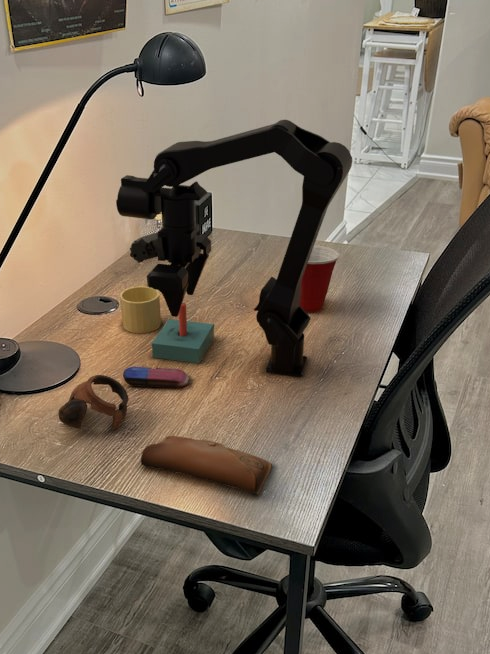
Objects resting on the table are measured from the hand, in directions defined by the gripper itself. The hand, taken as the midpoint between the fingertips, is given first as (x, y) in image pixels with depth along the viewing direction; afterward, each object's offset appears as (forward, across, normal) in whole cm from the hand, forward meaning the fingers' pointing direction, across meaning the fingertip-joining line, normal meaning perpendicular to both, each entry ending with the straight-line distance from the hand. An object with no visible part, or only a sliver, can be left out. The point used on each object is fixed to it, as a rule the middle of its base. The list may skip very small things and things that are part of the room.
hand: (182, 305), depth 131 cm
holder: (+9, 0, 0) cm, 9 cm away
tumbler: (+9, -7, -11) cm, 16 cm away
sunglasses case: (+9, +33, +14) cm, 37 cm away
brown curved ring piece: (+9, +27, -7) cm, 29 cm away
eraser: (+9, +13, -1) cm, 16 cm away
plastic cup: (+9, -23, +20) cm, 32 cm away
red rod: (+9, 0, 0) cm, 9 cm away
